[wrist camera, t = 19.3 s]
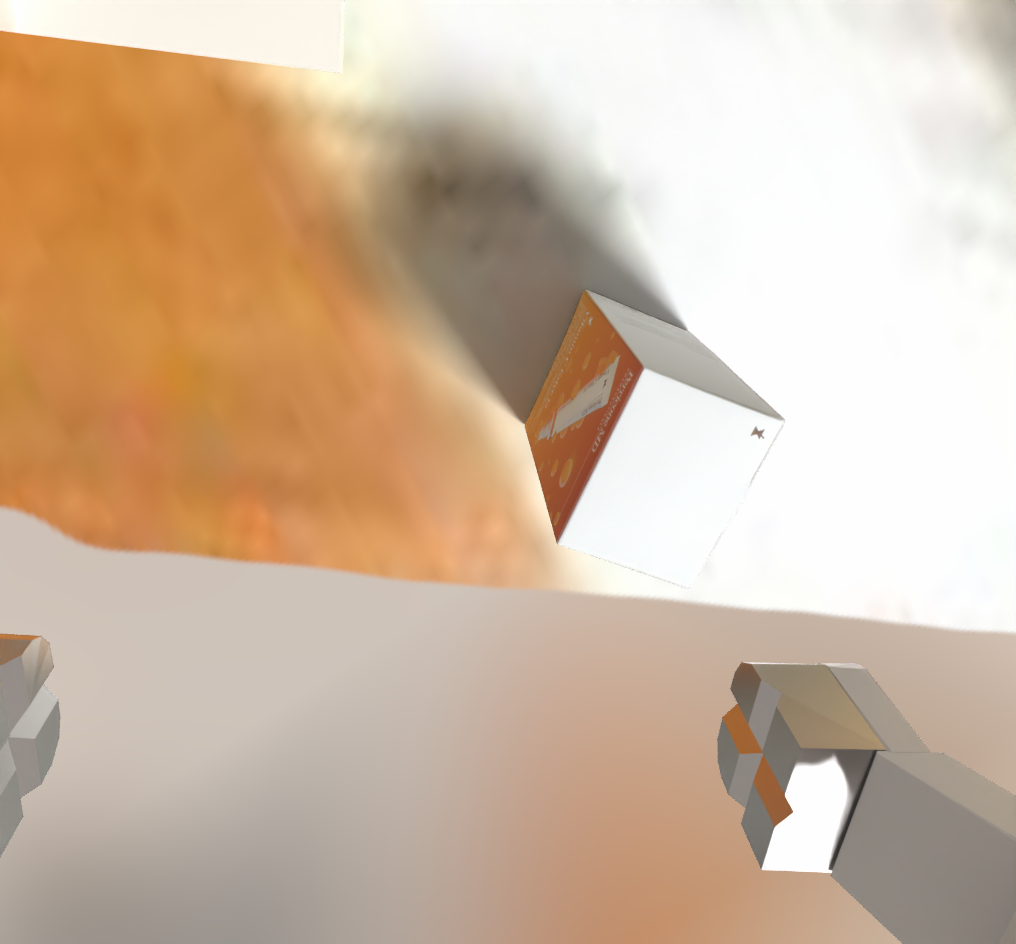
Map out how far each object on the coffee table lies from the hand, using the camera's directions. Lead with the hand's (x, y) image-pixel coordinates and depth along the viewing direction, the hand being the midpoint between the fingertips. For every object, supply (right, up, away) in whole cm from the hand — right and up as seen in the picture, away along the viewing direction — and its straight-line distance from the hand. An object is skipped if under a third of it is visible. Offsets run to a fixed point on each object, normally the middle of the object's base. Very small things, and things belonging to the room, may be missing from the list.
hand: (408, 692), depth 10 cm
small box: (+6, +8, +34) cm, 35 cm away
